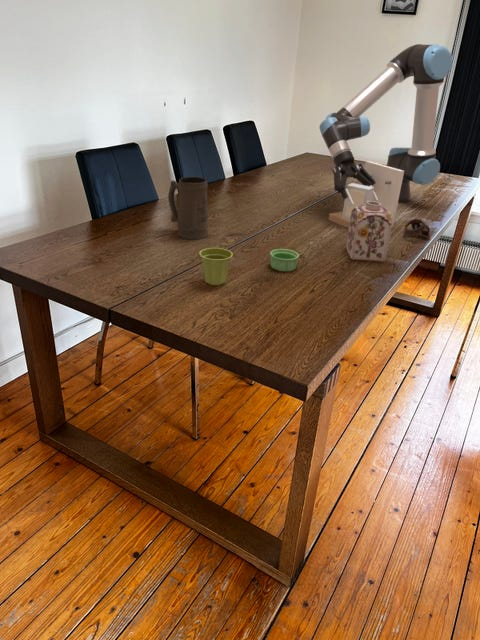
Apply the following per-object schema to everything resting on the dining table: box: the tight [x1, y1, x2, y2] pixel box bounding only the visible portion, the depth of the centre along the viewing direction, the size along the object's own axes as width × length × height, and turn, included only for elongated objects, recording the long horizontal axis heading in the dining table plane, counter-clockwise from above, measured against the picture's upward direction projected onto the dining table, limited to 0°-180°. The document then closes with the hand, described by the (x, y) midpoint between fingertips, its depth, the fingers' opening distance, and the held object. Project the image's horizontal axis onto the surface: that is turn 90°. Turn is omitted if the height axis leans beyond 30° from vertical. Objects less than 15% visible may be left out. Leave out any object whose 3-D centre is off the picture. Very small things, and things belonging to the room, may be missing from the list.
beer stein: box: [167, 176, 209, 240], centre depth 180 cm, size 15×11×20 cm
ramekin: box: [269, 248, 300, 272], centre depth 162 cm, size 9×9×4 cm
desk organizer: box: [328, 160, 404, 229], centre depth 201 cm, size 18×18×22 cm
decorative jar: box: [345, 201, 393, 262], centre depth 172 cm, size 12×12×18 cm
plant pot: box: [198, 247, 233, 286], centre depth 148 cm, size 9×9×9 cm
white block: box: [342, 182, 374, 220], centre depth 199 cm, size 5×9×13 cm, turn 54°
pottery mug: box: [402, 218, 431, 240], centre depth 194 cm, size 12×10×8 cm
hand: (363, 203), depth 198 cm, fingers open, 12 cm apart
